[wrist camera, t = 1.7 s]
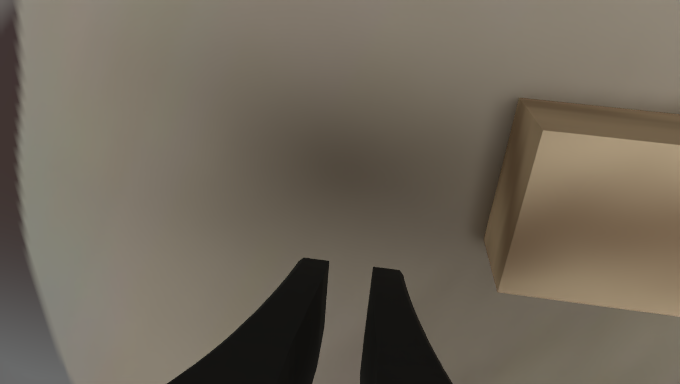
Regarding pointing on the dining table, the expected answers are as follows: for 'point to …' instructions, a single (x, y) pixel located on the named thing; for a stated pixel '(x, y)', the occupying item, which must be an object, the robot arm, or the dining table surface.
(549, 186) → the oak plank
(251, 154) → the dining table surface
